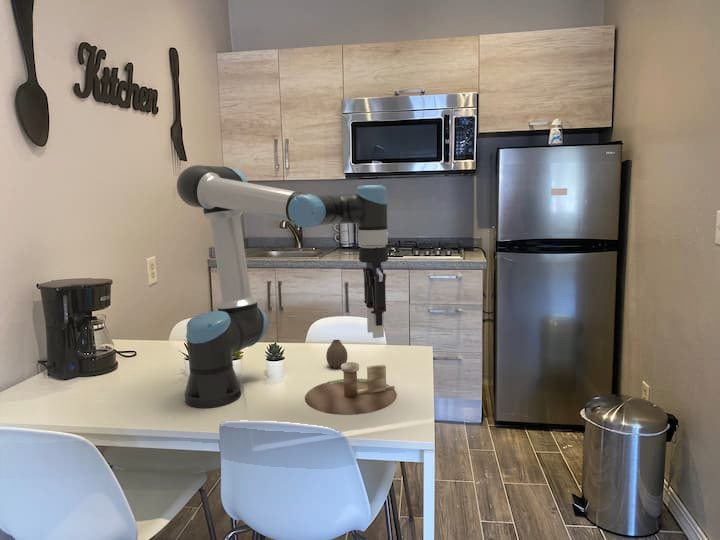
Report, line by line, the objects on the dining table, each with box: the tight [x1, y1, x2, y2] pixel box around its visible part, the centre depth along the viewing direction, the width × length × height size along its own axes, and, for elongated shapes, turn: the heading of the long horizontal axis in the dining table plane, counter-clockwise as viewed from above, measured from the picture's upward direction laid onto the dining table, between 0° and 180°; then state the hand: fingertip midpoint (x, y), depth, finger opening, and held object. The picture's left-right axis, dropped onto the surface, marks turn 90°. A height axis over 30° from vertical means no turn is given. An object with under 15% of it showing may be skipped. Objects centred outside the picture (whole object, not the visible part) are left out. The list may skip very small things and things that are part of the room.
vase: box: [326, 339, 348, 369], centre depth 164 cm, size 7×7×9 cm
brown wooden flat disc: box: [304, 378, 398, 416], centre depth 137 cm, size 25×25×1 cm
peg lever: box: [340, 361, 395, 397], centre depth 137 cm, size 15×5×8 cm, turn 106°
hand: (375, 334), depth 132 cm, fingers open, 5 cm apart
